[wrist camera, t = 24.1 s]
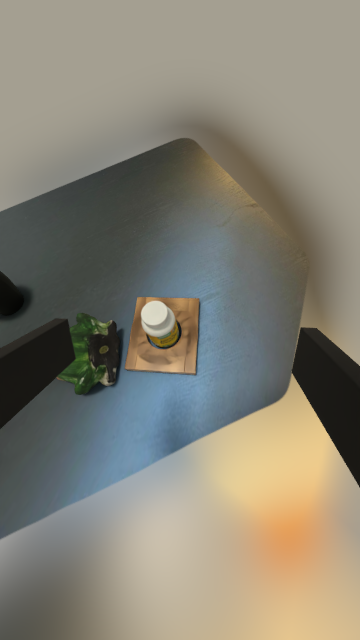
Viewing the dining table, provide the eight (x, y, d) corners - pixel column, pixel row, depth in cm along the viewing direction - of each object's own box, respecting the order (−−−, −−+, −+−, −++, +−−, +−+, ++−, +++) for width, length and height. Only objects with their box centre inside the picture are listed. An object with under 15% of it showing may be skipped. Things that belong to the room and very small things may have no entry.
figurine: (120, 312, 40) (46, 316, 42) (95, 309, 31) (3, 313, 33) (122, 387, 39) (48, 387, 42) (97, 405, 31) (4, 403, 33)
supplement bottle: (166, 316, 42) (156, 289, 33) (185, 334, 40) (180, 311, 31) (145, 335, 41) (129, 312, 32) (164, 354, 39) (152, 337, 30)
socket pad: (199, 302, 42) (199, 298, 41) (196, 375, 37) (195, 373, 36) (139, 300, 44) (137, 297, 43) (126, 370, 38) (123, 368, 37)
